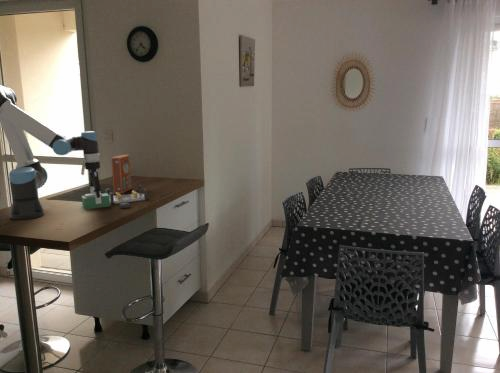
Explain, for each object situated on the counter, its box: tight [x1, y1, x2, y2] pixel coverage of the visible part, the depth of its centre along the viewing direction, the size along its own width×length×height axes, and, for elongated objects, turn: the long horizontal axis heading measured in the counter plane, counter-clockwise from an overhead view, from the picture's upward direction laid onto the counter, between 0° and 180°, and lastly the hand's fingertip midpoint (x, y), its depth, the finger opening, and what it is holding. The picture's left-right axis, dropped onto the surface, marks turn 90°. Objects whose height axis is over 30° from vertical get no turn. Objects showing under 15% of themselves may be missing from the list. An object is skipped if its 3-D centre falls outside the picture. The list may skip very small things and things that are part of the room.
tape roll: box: [119, 202, 131, 210], centre depth 241 cm, size 5×5×2 cm
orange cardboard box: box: [111, 154, 132, 194], centre depth 278 cm, size 21×7×15 cm
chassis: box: [105, 184, 149, 205], centre depth 257 cm, size 20×13×6 cm, turn 118°
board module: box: [81, 192, 111, 210], centre depth 243 cm, size 13×7×7 cm, turn 118°
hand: (96, 200), depth 243 cm, fingers open, 13 cm apart
